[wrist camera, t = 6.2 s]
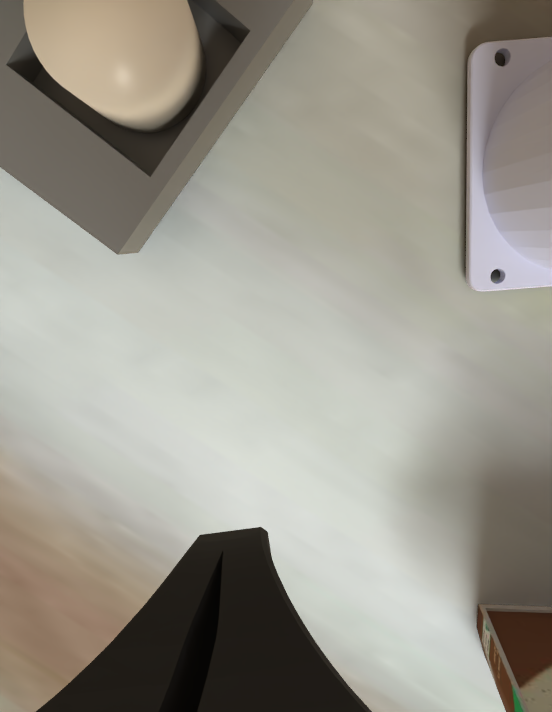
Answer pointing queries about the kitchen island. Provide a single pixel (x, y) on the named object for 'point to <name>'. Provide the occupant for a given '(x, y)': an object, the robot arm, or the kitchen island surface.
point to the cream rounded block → (122, 57)
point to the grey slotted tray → (120, 146)
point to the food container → (519, 654)
